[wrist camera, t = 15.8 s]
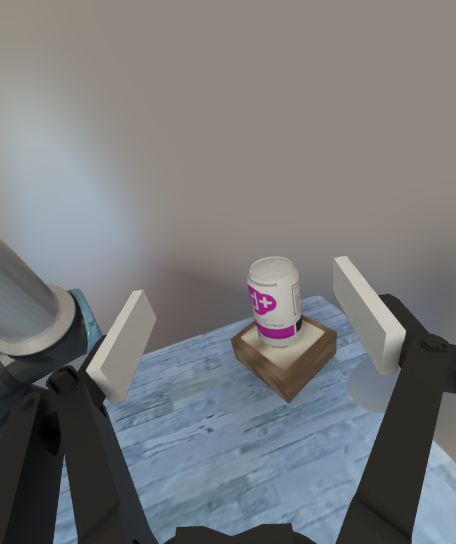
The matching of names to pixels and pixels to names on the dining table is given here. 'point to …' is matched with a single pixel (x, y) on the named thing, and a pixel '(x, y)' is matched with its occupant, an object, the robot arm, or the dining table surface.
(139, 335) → the robot arm
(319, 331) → the walnut pedestal
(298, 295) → the supplement can
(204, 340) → the dining table surface
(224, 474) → the dining table surface
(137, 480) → the dining table surface
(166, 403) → the dining table surface
